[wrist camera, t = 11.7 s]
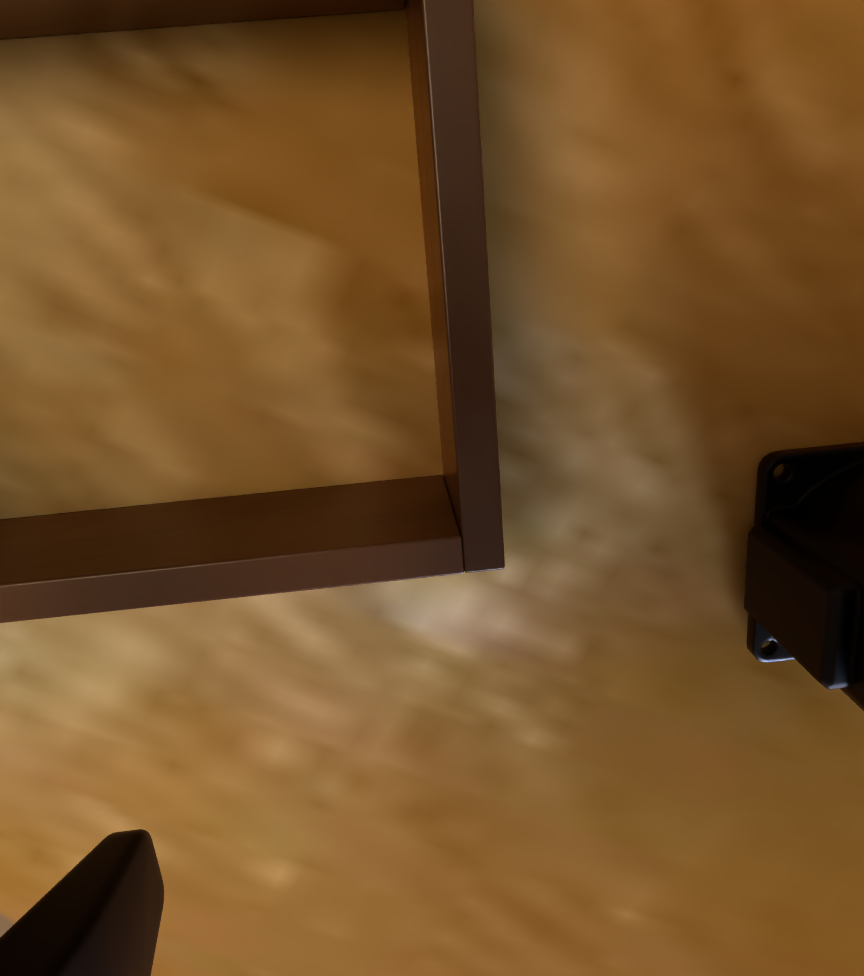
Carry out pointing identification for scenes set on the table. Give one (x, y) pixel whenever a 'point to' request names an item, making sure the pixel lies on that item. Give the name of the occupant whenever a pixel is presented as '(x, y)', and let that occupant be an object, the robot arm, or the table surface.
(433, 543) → the crate
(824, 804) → the table surface
